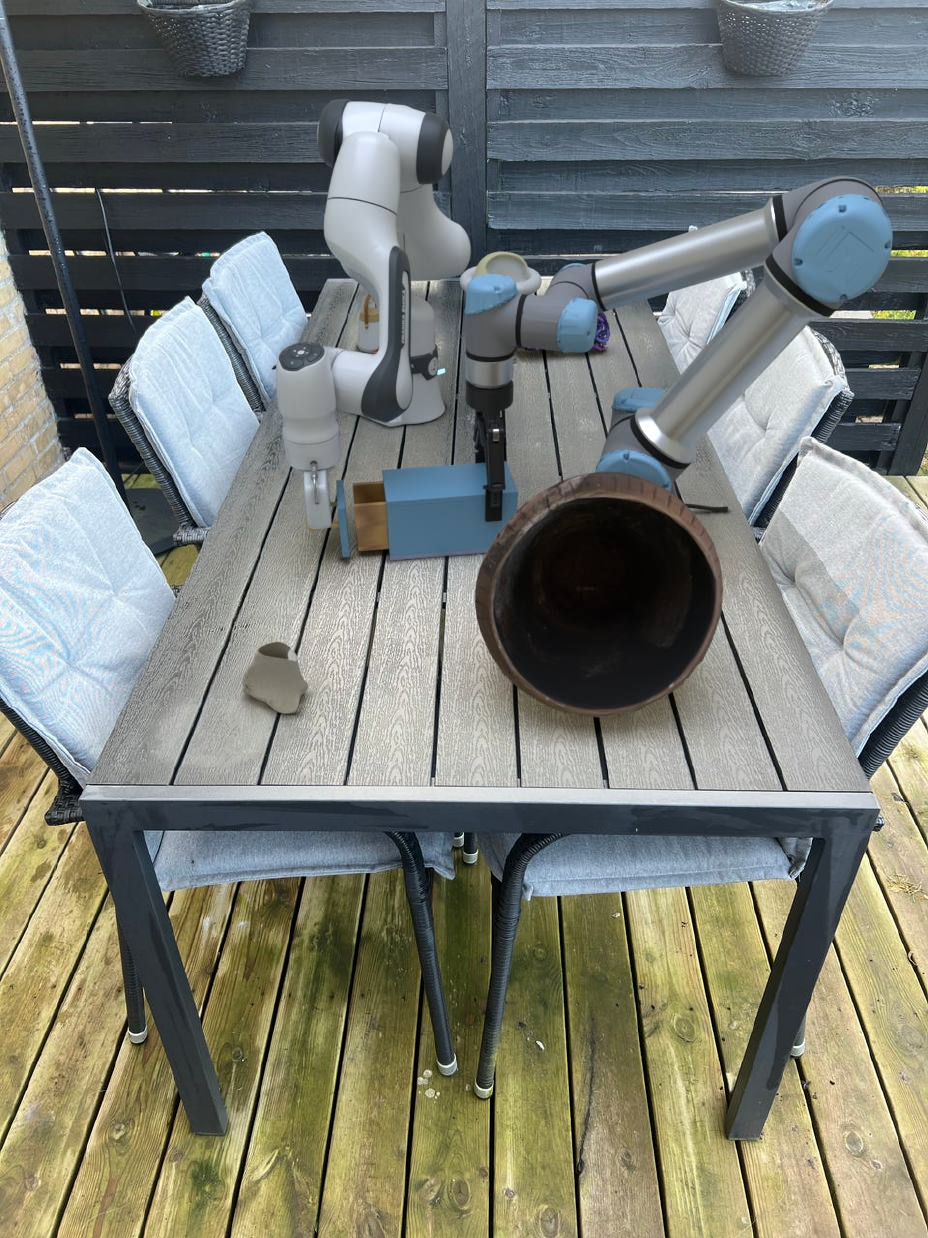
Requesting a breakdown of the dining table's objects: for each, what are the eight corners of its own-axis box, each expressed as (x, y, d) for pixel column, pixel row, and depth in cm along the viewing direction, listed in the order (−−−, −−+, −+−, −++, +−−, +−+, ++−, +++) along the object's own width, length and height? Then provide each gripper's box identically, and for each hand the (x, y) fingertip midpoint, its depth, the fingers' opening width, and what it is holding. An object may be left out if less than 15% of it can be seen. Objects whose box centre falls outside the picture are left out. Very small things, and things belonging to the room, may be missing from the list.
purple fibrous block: (616, 330, 219) (490, 333, 216) (609, 367, 227) (487, 369, 225) (606, 296, 227) (484, 298, 224) (599, 332, 235) (482, 335, 233)
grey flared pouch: (308, 702, 131) (315, 635, 129) (297, 722, 124) (304, 652, 121) (246, 693, 131) (251, 626, 129) (231, 713, 124) (236, 642, 121)
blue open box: (390, 560, 156) (386, 501, 149) (385, 526, 164) (381, 469, 158) (516, 550, 158) (518, 491, 151) (505, 517, 167) (506, 460, 160)
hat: (455, 295, 261) (454, 240, 252) (532, 292, 263) (534, 237, 254) (465, 327, 242) (464, 268, 233) (548, 323, 244) (550, 264, 235)
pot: (520, 423, 138) (555, 432, 109) (702, 511, 144) (783, 542, 115) (430, 616, 144) (441, 674, 115) (608, 693, 150) (662, 767, 121)
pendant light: (382, 354, 227) (374, 226, 209) (352, 350, 230) (341, 223, 212) (395, 343, 234) (388, 216, 215) (366, 339, 236) (356, 214, 218)
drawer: (310, 560, 155) (304, 511, 149) (310, 529, 162) (304, 482, 156) (462, 547, 157) (461, 499, 151) (455, 518, 165) (454, 471, 159)
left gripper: (335, 478, 140) (343, 555, 148) (331, 419, 156) (339, 491, 164) (292, 481, 139) (303, 558, 147) (293, 421, 155) (303, 494, 163)
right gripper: (527, 410, 136) (522, 537, 149) (501, 350, 154) (498, 468, 168) (476, 413, 135) (476, 541, 149) (456, 352, 153) (457, 471, 167)
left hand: (322, 522), depth 156 cm, fingers closed, pressing on drawer
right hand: (488, 502), depth 158 cm, fingers closed on blue open box, 11 cm apart
